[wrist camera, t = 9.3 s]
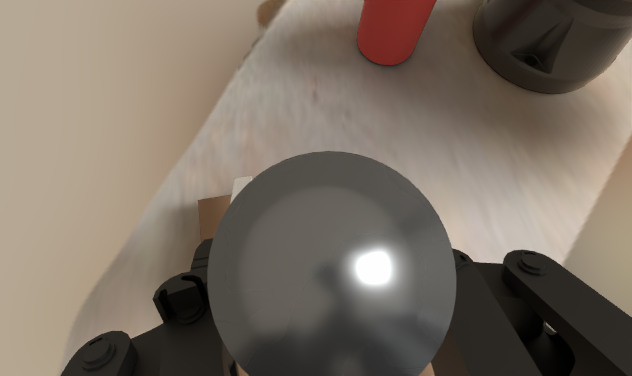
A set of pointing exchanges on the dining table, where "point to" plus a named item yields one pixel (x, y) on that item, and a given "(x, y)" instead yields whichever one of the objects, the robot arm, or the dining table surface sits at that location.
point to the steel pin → (331, 271)
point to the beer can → (391, 28)
